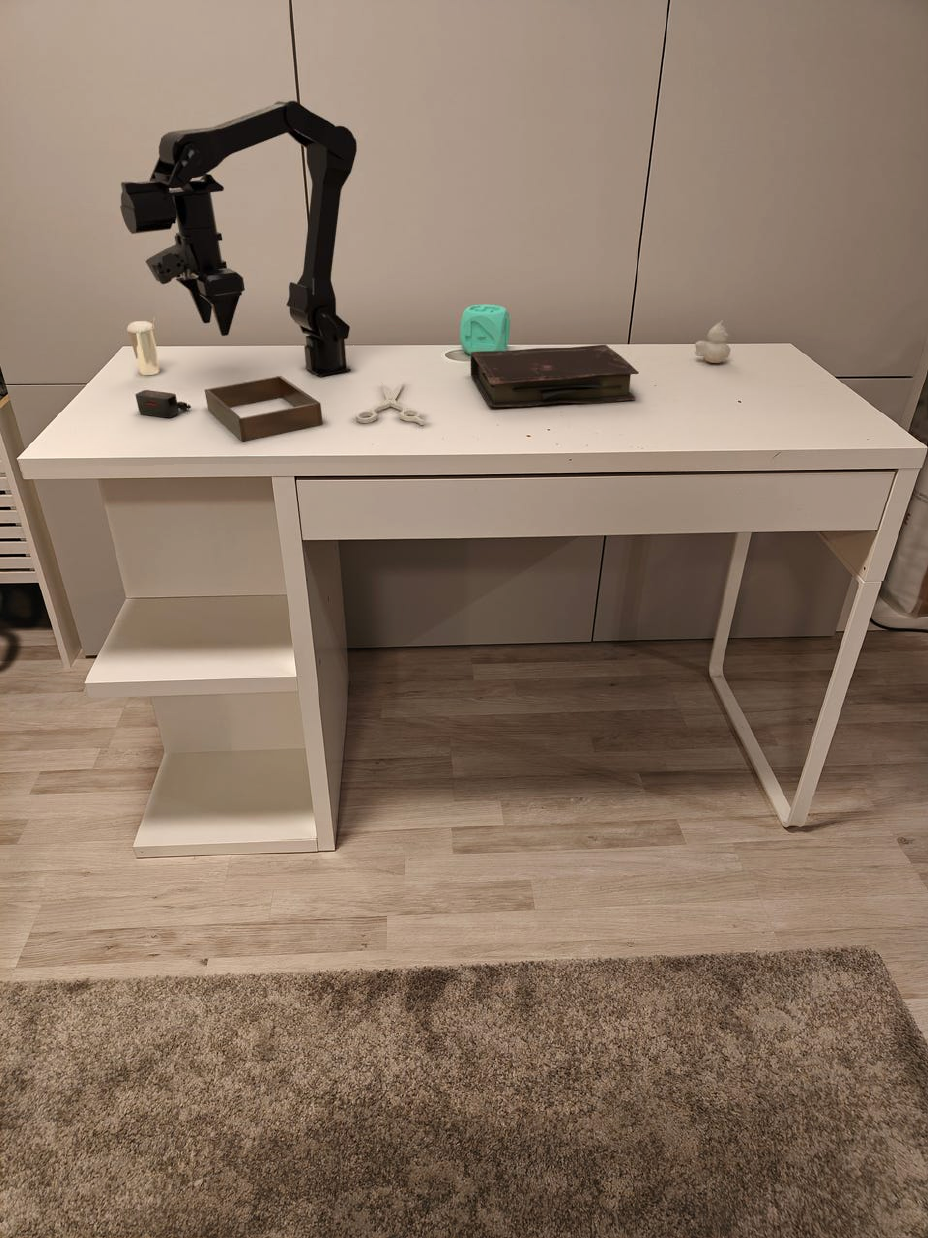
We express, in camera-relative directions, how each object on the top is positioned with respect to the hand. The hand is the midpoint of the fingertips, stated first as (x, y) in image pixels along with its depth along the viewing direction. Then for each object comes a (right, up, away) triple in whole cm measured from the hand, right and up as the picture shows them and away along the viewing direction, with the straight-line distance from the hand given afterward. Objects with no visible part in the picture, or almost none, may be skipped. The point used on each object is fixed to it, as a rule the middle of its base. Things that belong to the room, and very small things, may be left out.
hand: (215, 328), depth 137 cm
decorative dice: (+45, +5, +26) cm, 53 cm away
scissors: (+29, -12, +1) cm, 32 cm away
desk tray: (+9, -16, -4) cm, 18 cm away
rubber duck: (+88, +1, +20) cm, 90 cm away
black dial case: (-7, -15, -2) cm, 16 cm away
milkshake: (-16, -3, +15) cm, 23 cm away
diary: (+56, -8, +7) cm, 57 cm away
